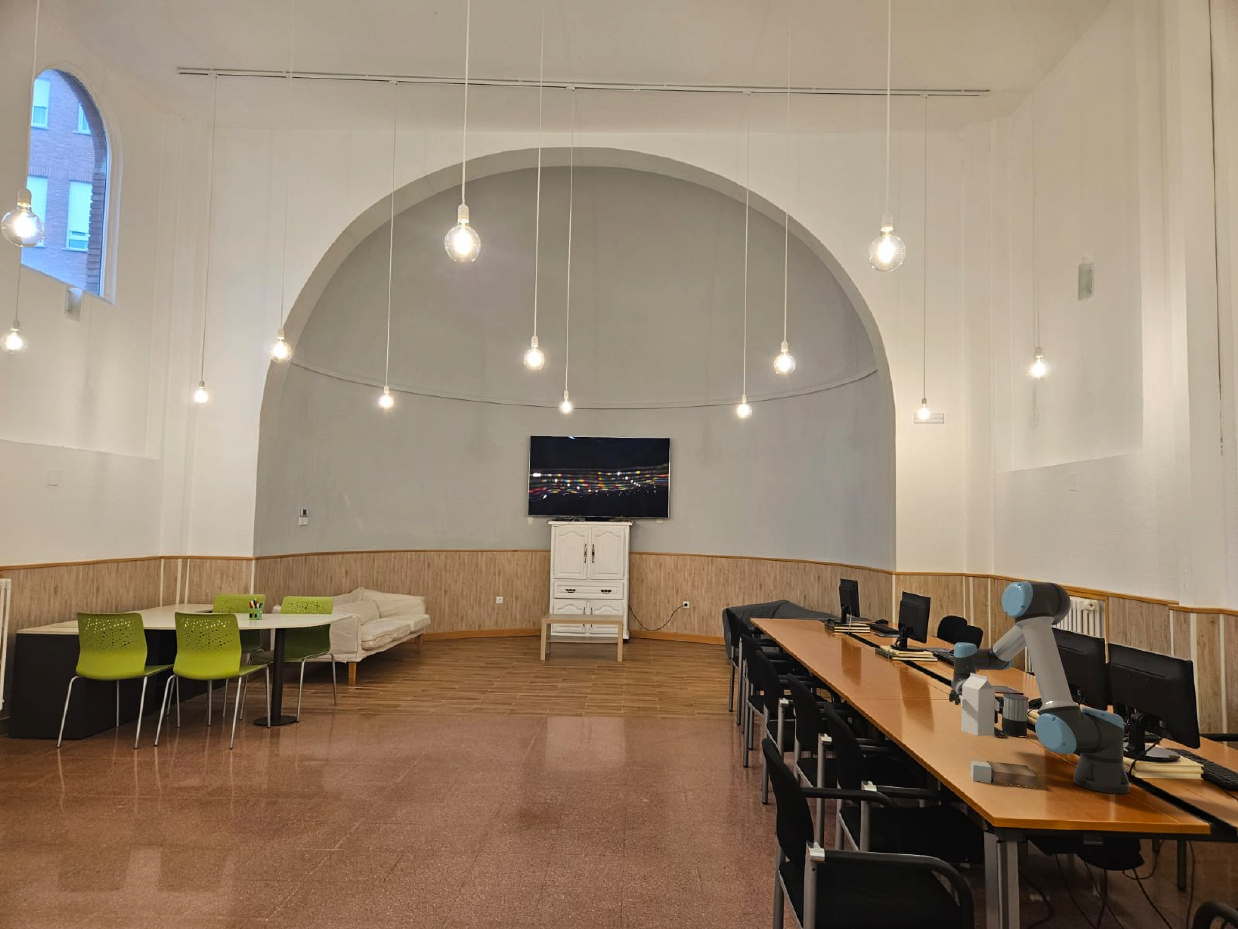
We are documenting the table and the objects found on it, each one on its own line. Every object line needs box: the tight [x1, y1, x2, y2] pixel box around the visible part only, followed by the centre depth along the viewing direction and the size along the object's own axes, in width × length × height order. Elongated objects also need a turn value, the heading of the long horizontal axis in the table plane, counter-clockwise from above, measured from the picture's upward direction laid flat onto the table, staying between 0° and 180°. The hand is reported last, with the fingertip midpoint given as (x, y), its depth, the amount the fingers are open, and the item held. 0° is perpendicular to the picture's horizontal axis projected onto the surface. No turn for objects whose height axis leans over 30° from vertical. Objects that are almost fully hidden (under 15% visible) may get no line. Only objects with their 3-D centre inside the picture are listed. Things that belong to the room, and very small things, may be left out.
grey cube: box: [969, 760, 992, 784], centre depth 257 cm, size 5×5×5 cm
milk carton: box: [960, 673, 996, 737], centre depth 273 cm, size 7×7×19 cm
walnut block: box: [986, 760, 1037, 788], centre depth 259 cm, size 12×12×4 cm
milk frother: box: [993, 693, 1030, 738], centre depth 319 cm, size 14×16×15 cm
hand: (980, 705), depth 269 cm, fingers closed on milk carton, 10 cm apart
